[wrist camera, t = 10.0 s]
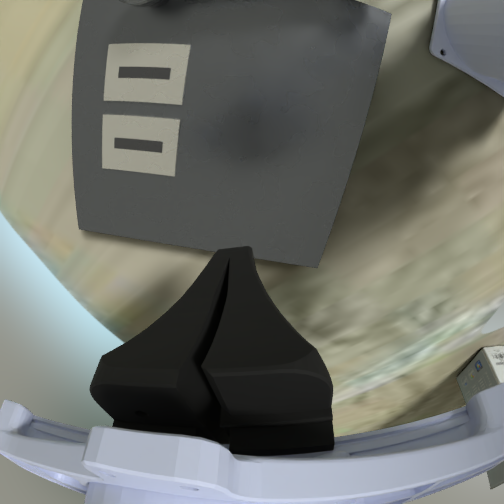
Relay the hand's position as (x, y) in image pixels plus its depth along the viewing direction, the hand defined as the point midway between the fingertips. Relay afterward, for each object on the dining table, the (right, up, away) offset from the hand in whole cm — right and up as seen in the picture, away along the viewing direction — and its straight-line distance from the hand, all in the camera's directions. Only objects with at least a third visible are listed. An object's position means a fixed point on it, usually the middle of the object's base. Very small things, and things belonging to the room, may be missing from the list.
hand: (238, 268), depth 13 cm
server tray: (-2, +10, +6) cm, 12 cm away
